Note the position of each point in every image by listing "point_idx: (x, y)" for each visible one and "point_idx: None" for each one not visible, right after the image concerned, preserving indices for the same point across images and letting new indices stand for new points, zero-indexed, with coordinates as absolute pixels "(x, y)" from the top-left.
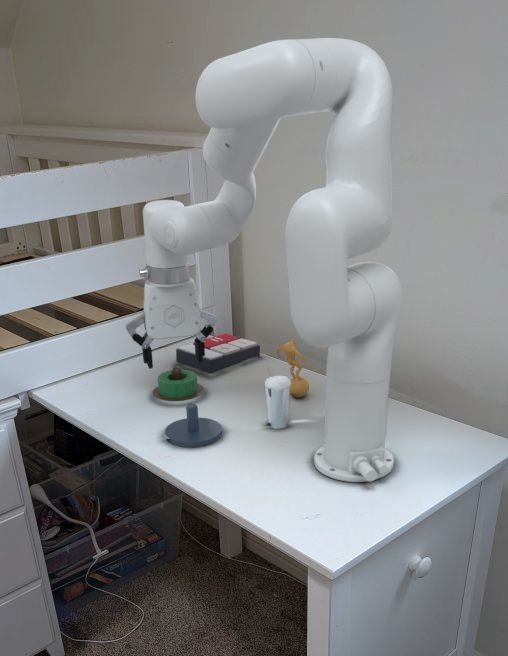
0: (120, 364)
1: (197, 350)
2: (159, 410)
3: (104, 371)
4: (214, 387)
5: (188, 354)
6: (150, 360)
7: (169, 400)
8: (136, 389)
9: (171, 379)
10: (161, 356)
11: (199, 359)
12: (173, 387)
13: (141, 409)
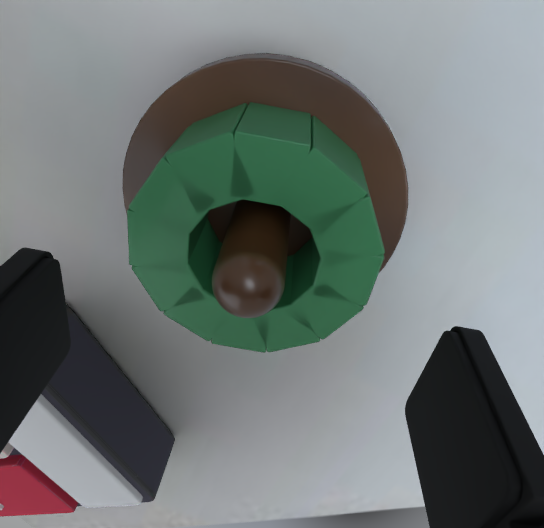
0: (342, 509)
1: (5, 345)
2: (452, 62)
3: (413, 496)
4: (66, 203)
5: (114, 453)
6: (492, 378)
7: (366, 109)
8: (403, 347)
9: None
10: (202, 499)
11: (37, 266)
12: (328, 149)
13: (526, 134)
